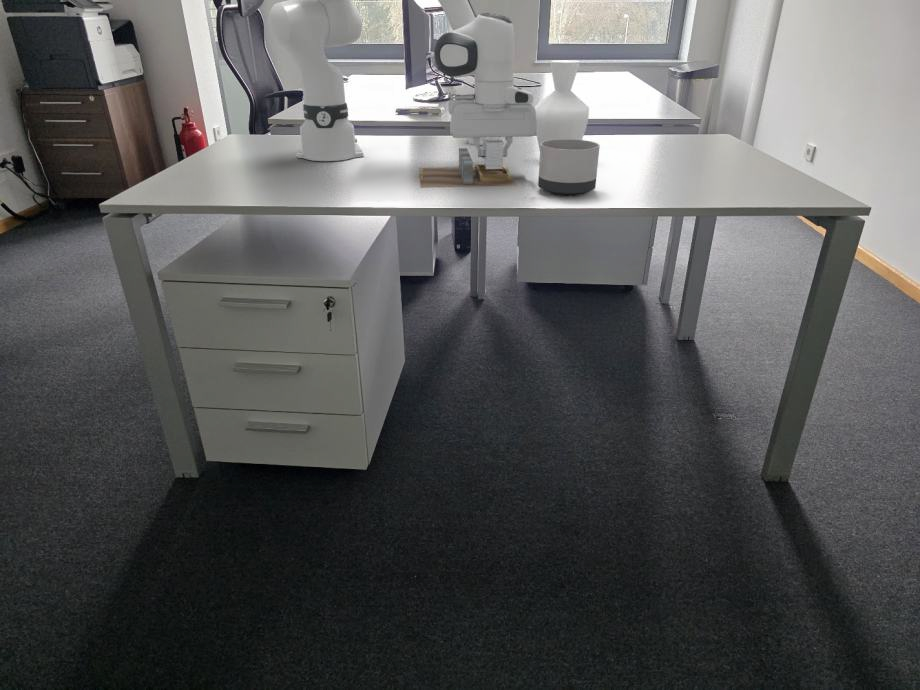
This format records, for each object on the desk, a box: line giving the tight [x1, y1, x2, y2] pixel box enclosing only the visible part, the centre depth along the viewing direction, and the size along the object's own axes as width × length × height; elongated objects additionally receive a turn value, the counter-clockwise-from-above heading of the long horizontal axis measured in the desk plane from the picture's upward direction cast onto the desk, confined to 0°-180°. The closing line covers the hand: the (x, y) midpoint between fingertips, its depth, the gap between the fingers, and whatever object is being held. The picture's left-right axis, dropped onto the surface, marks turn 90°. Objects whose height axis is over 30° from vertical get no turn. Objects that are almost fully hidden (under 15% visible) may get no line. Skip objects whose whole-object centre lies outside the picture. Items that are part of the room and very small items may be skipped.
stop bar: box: [481, 137, 504, 169], centre depth 146 cm, size 4×8×6 cm, turn 4°
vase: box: [534, 59, 590, 151], centre depth 162 cm, size 14×14×25 cm
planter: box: [537, 139, 601, 197], centre depth 137 cm, size 13×13×10 cm
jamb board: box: [419, 147, 518, 188], centre depth 147 cm, size 20×22×6 cm
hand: (492, 156), depth 146 cm, fingers closed on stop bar, 4 cm apart
